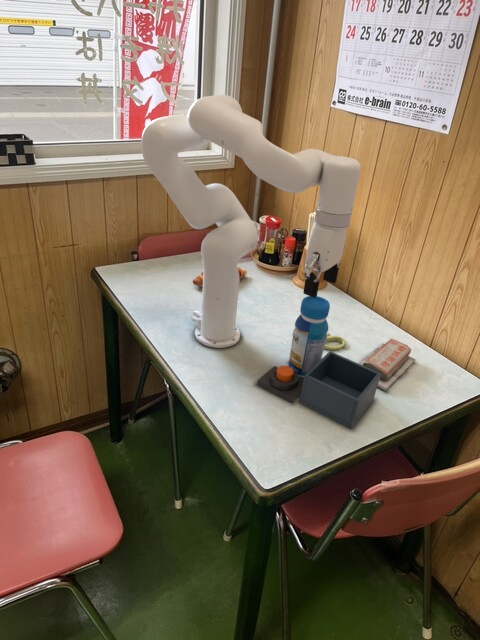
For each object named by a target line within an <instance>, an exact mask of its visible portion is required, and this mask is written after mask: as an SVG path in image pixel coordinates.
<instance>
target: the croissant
mask: <svg viewBox="0 0 480 640" xmlns="http://www.w3.org/2000/svg"><path fill="white" fill-rule="evenodd" d="M237 268H238V272H239V281H240V280H241V279H244V278H245V277H246V276H247V273H248V270H247V269H243V268H242V267H240V266H237ZM192 284H193V285H194V286H197V287H202V288H203V271H202V272H201V273H200V274H199V275H198V276H196V277H195V278H194V279H193V280H192Z"/></svg>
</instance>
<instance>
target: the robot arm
mask: <svg viewBox="0 0 480 640" xmlns="http://www.w3.org/2000/svg"><path fill="white" fill-rule="evenodd" d="M209 143H213V144H214V145H217V146H218V147H221V148H222V149H224V150H226V151H227V152H230V153H231V154H234V156H237V157H239V158H240V159H242V161H243V162H244V164H245V166H247V168H248V169H249V170H250V171H251V173H252V174H254V175H255V176H256V177H257V178H259V179H260V180H262V181H264V182H266V183H268V184H269V185H271V186H273V187H275V188H276V189H279V190H280V191H284V192H286V193H289V194H298V193H302V192H305V191H307V190H309V189H310V188H312V187H316V186H319V191H318V197H317V204H316V210H315V215H314V225H313V228H312V231H311V234H310V238H309V242H308V246H307V250H306V254H305V255H306V256H305V259H304V260H305V261H304V286H303V294H304V295H305V296H311V297H314V298H315V297H317V296H318V293H319V292H318V291H319V286H320V280H319V279H320V277H321V275H322V273H323V277H322V278H323V281H326V282H328V283H331V284H336V283H337V280H338V275H339V269H340V267H341V260H342V258H343V253H344V250H345V248H346V247H345V245H346V238H347V230H348V229H349V228H350V224H351V220H352V215H353V210H354V204H355V200H356V195H357V190H358V185H359V182H360V181H359V180H360V175H361V171H362V166H361V163H360V162H359V160H357V159H355V158H353V157H349V156H342V155H334V154H331V153H328V152H327V151H323V150H320V149H317V148H306V149H304V150H300V151H297V152H295V153H292V152H289V151H287V150H285V149H283V148H281V147H280V146H278V145H276V144H274V143H273V142H271V141H269V140H268V139H267V138H266V136H264V126H263V123H262V122H261V121H259V119H256V118H254V117H252V116H250V115H249V114H246V113H244V112H243V109H242V107H241V104H240V103H239V101H237V99H235V98H234V97H232V96H231V95H229V94H217V95H207V96H202V97H200V98H198V99H196V100H195V101H194V102H193V103H192V104H191V105H190V107H189V110H188V112H185V113H180V114H179V113H178V114H173V115H165V116H161V117H158V118H155V119H154V120H152V121H150V122H149V123H147V124H146V126H145V127H144V128H143V131H142V134H141V138H140V148H141V149H140V150H141V155H142V158H143V161H144V163H145V164H146V166H147V168H148V170H149V171H150V172H151V173H152V175H153V176H154V177H155V179H157V181H158V182H159V183H160V184H161V186H162V187H163V188H164V190H165V191H166V193H167V194H168V195H167V196H169V198H170V199H171V201H172V202H173V204H174V205H175V207H176V208H177V209H178V211H179V212H180V215H182V217H183V219H184V220H185V221H186V223H187V224H188V225H189V226H190V227H191V228H192V229H195V230H204V229H206V228H209V227H211V226H213V225H215V224H216V226H217V227H216V228H214V229H212V230H211V231H210V232H209V233H207V234H206V235H205V237H204V238H203V240H202V241H201V244H200V245H201V247H200V255H201V261H202V272H203V287H202V293H201V295H202V297H201V298H202V299H201V311H200V310H197V309H196V310H194V311H193V315H192V316H191V321H192V322H195V323H197V326H196V327H195V330H194V336H195V338H196V340H197V341H198V343H200V344H201V345H204V346H206V347H210V348H214V349H215V348H216V349H223V348H229V347H232V346H234V345H236V344H237V343H239V341H240V338H241V331H240V329H239V328H238V327H237V325H236V324H237V313H238V303H239V292H240V280H239V272H238V262H239V261H240V259H242V258H243V257H244V256H246V255H248V254H249V253H250V252H252V251H253V250H254V249H255V248H256V247H257V245H258V241H259V234H258V229H257V228H256V226H255V223H254V222H253V221H252V219H251V217H250V215H249V214H248V213H247V211H246V209H245V208H244V207H243V205H242V203H241V202H240V201H239V199H238V198H237V196H236V194H235V193H234V192H233V191H232V190H231V189H230V188H229V187H227V186H226V185H225V184H222V183H209V184H207V185H205V184H204V183H203V182H202V181H201V179H200V178H199V176H198V174H197V173H196V172H195V170H194V169H193V167H192V166H191V165H189V164H188V163H187V162H186V161H184V160H183V159H182V158H181V157H180V156H179V155H178V154H181V153H185V152H187V151H191V150H195V149H198V148H200V147H203V146H205V145H207V144H209ZM313 271H315V272H316V273H314V272H313Z"/></svg>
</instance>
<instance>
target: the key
mask: <svg viewBox="0 0 480 640" xmlns="http://www.w3.org/2000/svg"><path fill="white" fill-rule="evenodd" d="M326 334H327V340H326V343H327V342H333V341H334V342H335V341H338V342H340V343H341V344H339V345H334V346H333V345H329V344H328V345H327V344H326V343H325V346H324V350H327V351H336V350H337V351H338V350H341V349H343V348H344V347H345V346H346V340H345V339H344V338H343V337H341V336H339V335H332V336H331V334H330V333H328V332H327V333H326Z"/></svg>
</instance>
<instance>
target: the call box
mask: <svg viewBox="0 0 480 640" xmlns="http://www.w3.org/2000/svg"><path fill="white" fill-rule="evenodd" d="M278 367H279V366H276V365H274V366H272V368H271V369H269V370H268V371H267V372H266V373H264V375H262V376H261V377H260V378H259V379H257V381H256V385H257V386H258V387H260V388H262V389H264V390H266V391H268V392H269V393H272V394H274V395H276V396H277V397H279V398H281V399H283V400H285V401H288V402H289V403H291V404H293V402H295V401H296V400H297V399H298V397H300V396H301V391H302V386H303V381H304V378H302V377H299V375H298V374H297V373H296V372H295V371H294V370H293V378H292V380H291V381H288V382H284V381H280V380H278V379H277V378H276V372H277V368H278Z"/></svg>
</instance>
